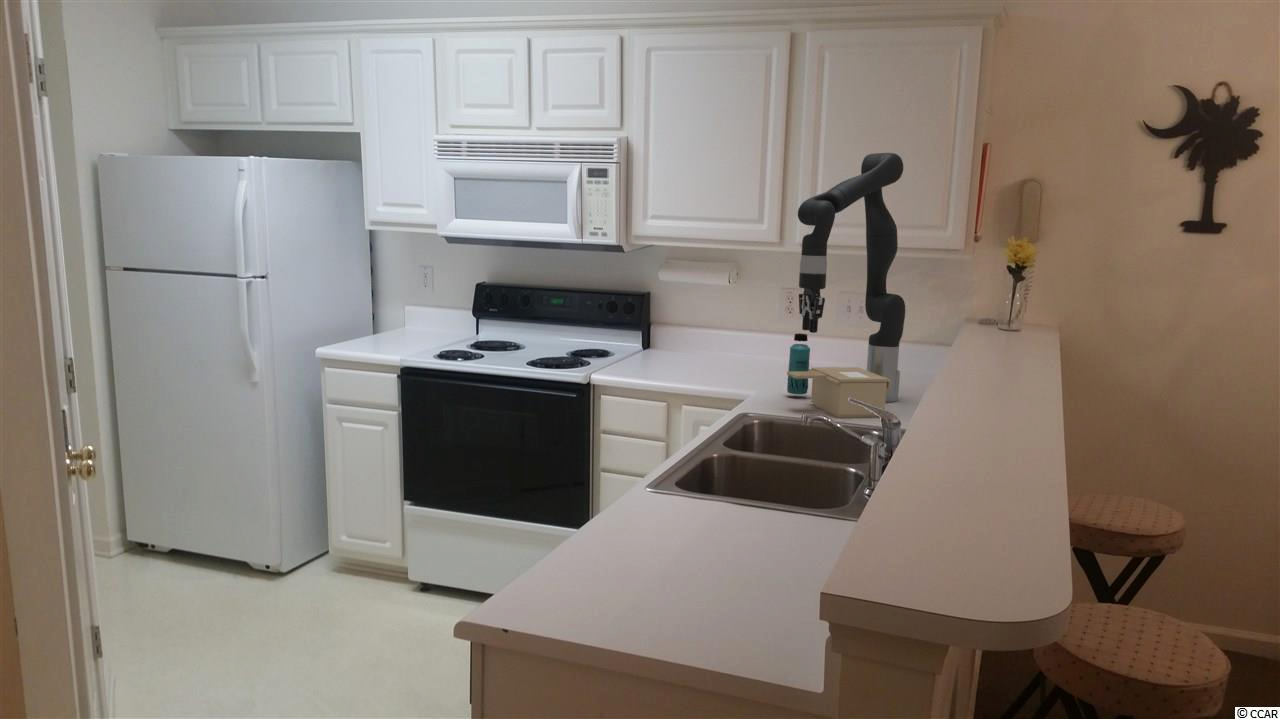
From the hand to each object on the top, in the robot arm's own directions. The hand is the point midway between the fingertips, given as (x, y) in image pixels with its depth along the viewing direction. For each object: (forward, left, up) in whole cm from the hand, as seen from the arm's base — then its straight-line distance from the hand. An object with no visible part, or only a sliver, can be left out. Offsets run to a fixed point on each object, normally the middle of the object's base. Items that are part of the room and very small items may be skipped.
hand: (809, 331), depth 270 cm
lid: (-8, 0, -15) cm, 17 cm away
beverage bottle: (-5, -20, -24) cm, 31 cm away
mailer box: (-13, 0, -23) cm, 27 cm away
